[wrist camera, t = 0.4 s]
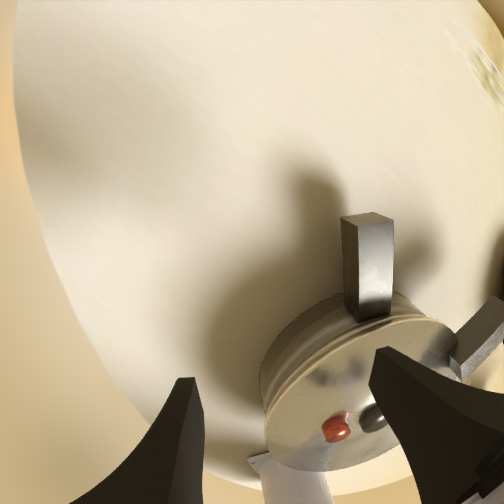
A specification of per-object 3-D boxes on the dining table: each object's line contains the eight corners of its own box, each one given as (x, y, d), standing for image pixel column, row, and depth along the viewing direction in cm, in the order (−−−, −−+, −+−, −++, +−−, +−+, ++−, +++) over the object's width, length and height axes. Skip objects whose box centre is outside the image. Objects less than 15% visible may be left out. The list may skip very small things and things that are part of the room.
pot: (407, 395, 27) (427, 423, 22) (269, 438, 26) (277, 476, 21) (432, 196, 19) (476, 209, 15) (226, 230, 18) (229, 255, 14)
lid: (320, 479, 22) (326, 499, 19) (214, 412, 16) (216, 444, 14) (493, 357, 20) (508, 370, 17) (482, 221, 15) (510, 232, 12)
